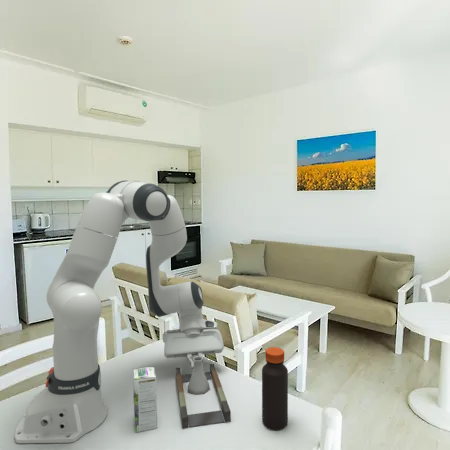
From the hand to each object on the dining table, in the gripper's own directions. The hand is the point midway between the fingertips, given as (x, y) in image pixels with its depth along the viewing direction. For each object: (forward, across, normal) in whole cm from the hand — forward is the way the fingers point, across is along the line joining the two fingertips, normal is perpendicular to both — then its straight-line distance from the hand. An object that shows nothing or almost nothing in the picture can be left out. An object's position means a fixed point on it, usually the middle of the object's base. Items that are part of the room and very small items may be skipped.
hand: (195, 368), depth 116 cm
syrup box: (+17, -16, -10) cm, 25 cm away
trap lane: (+10, 0, -4) cm, 10 cm away
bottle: (+22, +18, -15) cm, 32 cm away
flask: (+7, 0, 0) cm, 7 cm away
